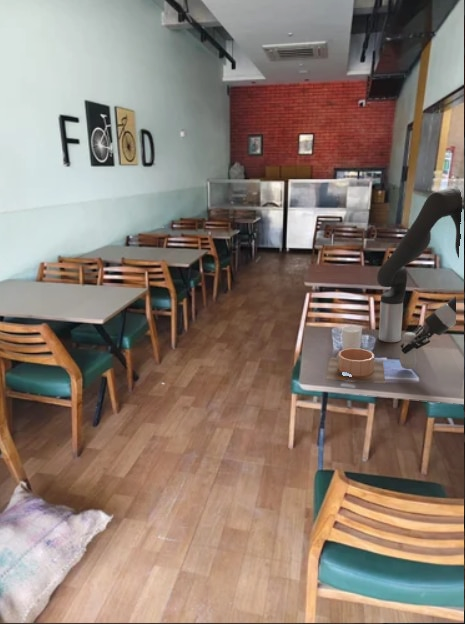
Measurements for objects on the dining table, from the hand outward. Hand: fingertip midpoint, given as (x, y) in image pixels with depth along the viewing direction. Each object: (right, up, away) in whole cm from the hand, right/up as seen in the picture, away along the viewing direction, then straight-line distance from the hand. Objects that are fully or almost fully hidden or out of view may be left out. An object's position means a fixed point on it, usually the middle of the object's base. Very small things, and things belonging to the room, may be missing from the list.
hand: (402, 349), depth 154 cm
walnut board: (-16, -9, +5) cm, 18 cm away
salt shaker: (+2, -7, +1) cm, 7 cm away
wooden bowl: (-16, -8, +5) cm, 18 cm away
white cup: (-12, -3, +24) cm, 27 cm away
